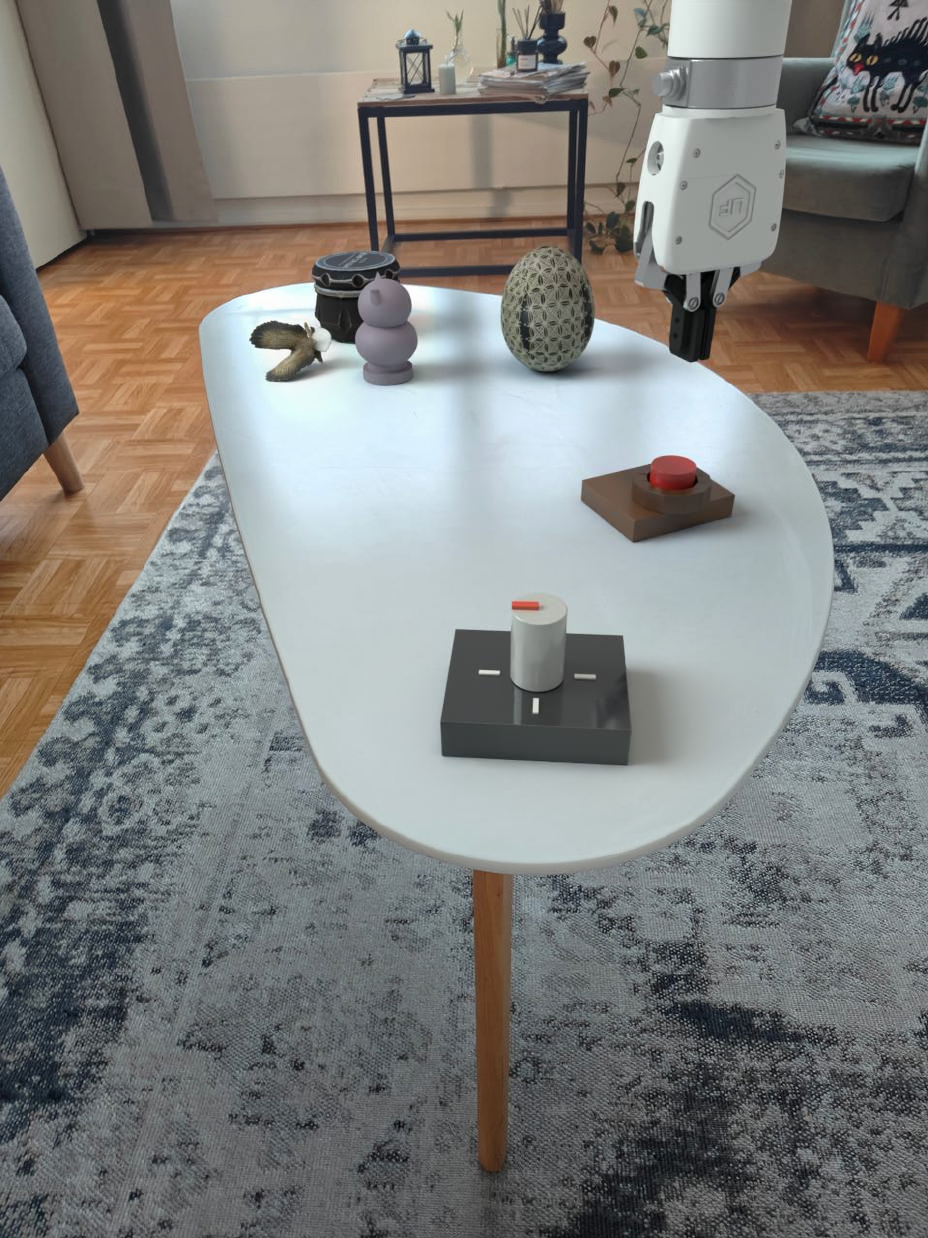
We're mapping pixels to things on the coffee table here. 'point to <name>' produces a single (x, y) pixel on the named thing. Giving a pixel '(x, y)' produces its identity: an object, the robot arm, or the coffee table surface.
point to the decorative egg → (547, 309)
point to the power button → (673, 472)
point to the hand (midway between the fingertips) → (688, 355)
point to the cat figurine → (386, 332)
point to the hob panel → (537, 703)
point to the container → (347, 288)
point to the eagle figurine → (291, 346)
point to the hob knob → (538, 641)
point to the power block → (654, 502)
